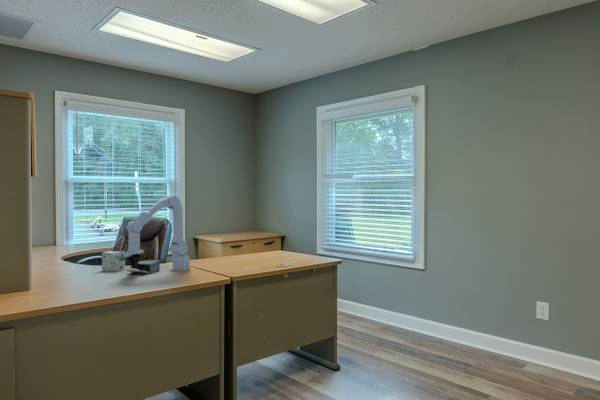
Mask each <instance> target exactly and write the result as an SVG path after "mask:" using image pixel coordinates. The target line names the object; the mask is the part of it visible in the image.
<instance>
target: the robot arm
mask: <svg viewBox="0 0 600 400" xmlns="http://www.w3.org/2000/svg"><path fill="white" fill-rule="evenodd" d="M163 208H168V209H170V211H172V229H173V230H172V233H173V235H172V236H173V238H172V239H171V241H170V247H169V250H170V252H171V254H172V255H171V257H172V258H171V261H172V262H171V268H169V270H170V271H182V272H183V271H187V270H188V269H189V270H190V269H191V267H190V265H191V264H190V255H188V254H186V253H188V249H189V248H188V245H187V241H186V239H185V238H184V217H183V216H184V215H183V214H184V213H183V212H184V210H183V209H184V208H183V206H182V204H181V199H180V198H179V197H178V196H177V195H163V196H161V197H160V198H158V201H156V202H155V203H154V204H153V205H152V206H151V207H149V209H148V210H147V211H141V212H140V213H139V214H138V216H137V217H135V218H133V220H131V221H129V222H128V223H127V224H126V230H127V232H128V247H127V248H128V250H127V251H126V252H125V253H124V257H125V258H127V260H128V261H129V264H130V268H134V269H136V268H137V264H138V262H139V260H140V259H141V257H142V255H143V254H144V251H145V250H144V249H141V231H142V230H143V227H144V226H145V225H146V224H147V223H149V222H150V221H151V220H152V216H154V215H155V214H156V213H158V212H159V211H160V210H162V209H163ZM141 254H142V255H141Z"/></svg>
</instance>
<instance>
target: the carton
mask: <svg viewBox="0 0 600 400" xmlns="http://www.w3.org/2000/svg"><path fill="white" fill-rule="evenodd" d="M160 263H161V262H160V261H154V260H152V261H151V260H141V261H138V264H137V268H136V269H138V270H145V271H148V272H150V273H149V274H153V273H156V272H159V271H160V268H161V267H160Z"/></svg>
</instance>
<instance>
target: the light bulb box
mask: <svg viewBox="0 0 600 400" xmlns="http://www.w3.org/2000/svg"><path fill="white" fill-rule="evenodd" d="M124 253H126V251H117V250H107V251H102V253H101V272H109V271H111V272H112V271H114V272H121V271H123V270H126V257H124Z"/></svg>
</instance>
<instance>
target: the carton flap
mask: <svg viewBox="0 0 600 400" xmlns="http://www.w3.org/2000/svg"><path fill="white" fill-rule="evenodd" d="M125 270H126V271H127V272H129V273H134V274H151V273H150V272H148V271H145V270H138V269H134V268H131V267H128V268H127V269H125Z"/></svg>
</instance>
